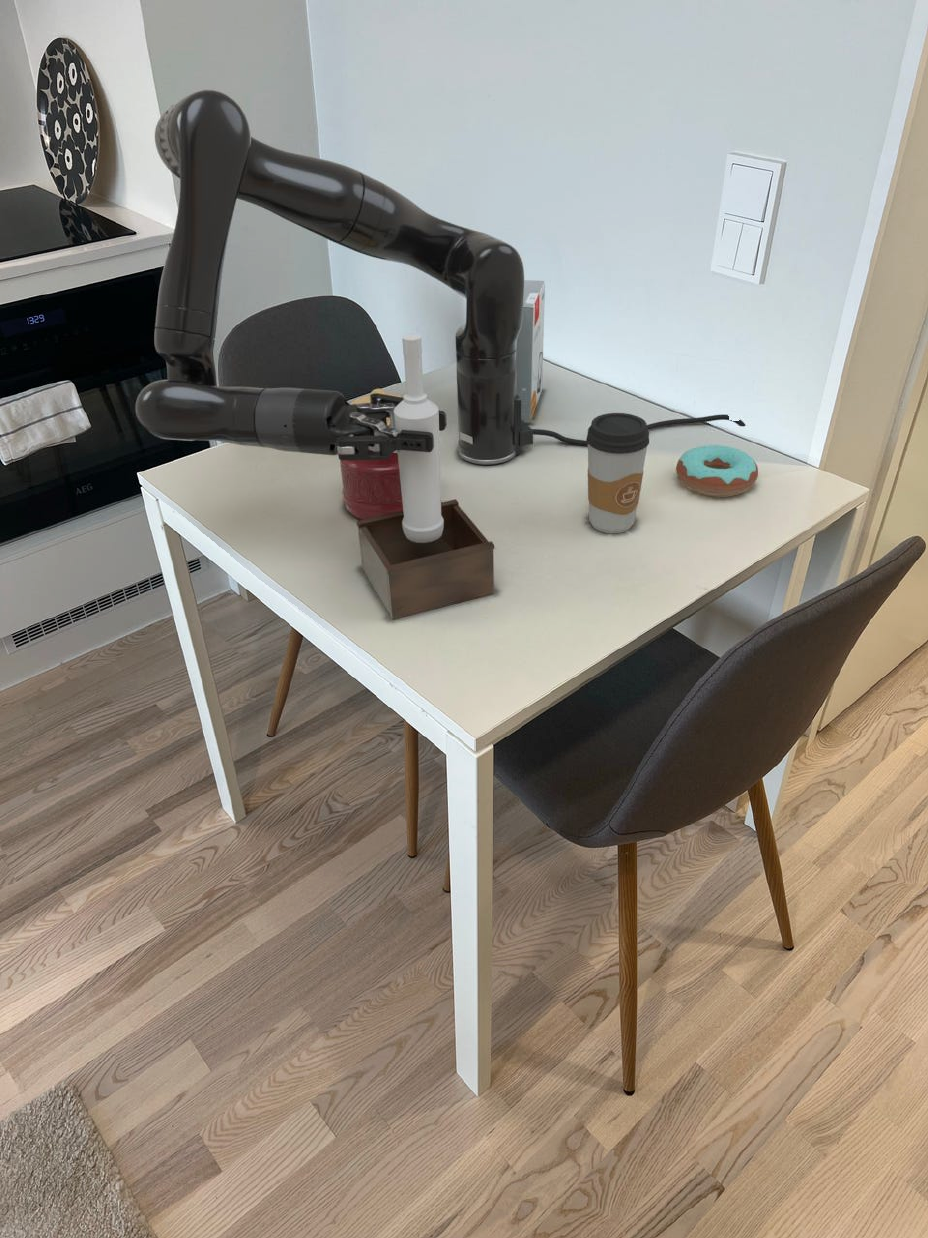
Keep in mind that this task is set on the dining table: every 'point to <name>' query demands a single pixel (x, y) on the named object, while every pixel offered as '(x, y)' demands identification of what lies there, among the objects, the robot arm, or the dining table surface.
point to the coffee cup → (615, 470)
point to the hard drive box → (530, 349)
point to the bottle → (419, 466)
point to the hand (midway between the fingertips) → (438, 431)
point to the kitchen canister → (372, 481)
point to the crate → (426, 562)
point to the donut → (717, 470)
